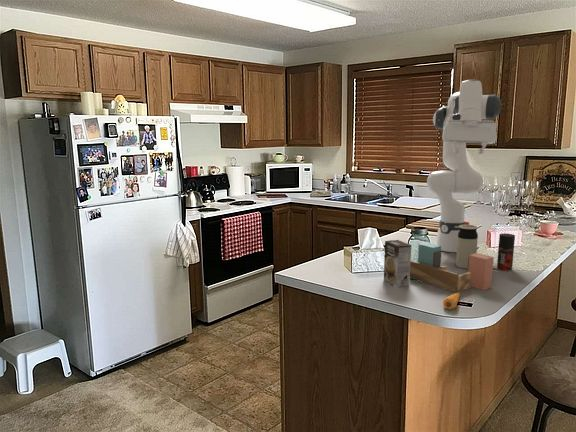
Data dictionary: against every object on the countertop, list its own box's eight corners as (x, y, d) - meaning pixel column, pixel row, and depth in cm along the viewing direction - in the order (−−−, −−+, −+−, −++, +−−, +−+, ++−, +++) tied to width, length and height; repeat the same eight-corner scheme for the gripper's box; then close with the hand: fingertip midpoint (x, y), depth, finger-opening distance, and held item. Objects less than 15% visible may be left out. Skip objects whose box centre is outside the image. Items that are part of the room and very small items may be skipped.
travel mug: (473, 270, 199) (476, 229, 195) (454, 267, 202) (457, 227, 199) (476, 265, 205) (479, 225, 202) (457, 263, 209) (460, 223, 206)
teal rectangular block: (425, 270, 192) (426, 242, 190) (440, 275, 186) (442, 246, 184) (417, 272, 189) (418, 244, 187) (432, 277, 183) (434, 248, 181)
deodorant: (496, 270, 199) (499, 235, 196) (497, 266, 204) (499, 232, 201) (511, 271, 196) (515, 237, 193) (512, 268, 201) (515, 234, 199)
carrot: (451, 313, 156) (458, 302, 154) (439, 306, 157) (445, 295, 156) (463, 300, 173) (468, 290, 171) (451, 293, 175) (457, 283, 173)
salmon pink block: (473, 282, 184) (475, 252, 182) (491, 287, 178) (493, 256, 176) (465, 284, 181) (467, 254, 179) (483, 290, 175) (486, 259, 173)
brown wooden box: (422, 273, 195) (423, 257, 194) (469, 287, 178) (471, 270, 176) (408, 277, 190) (409, 260, 189) (455, 292, 172) (456, 274, 171)
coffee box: (382, 279, 187) (384, 240, 184) (396, 277, 190) (397, 239, 187) (396, 286, 179) (397, 246, 176) (410, 284, 181) (411, 244, 178)
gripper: (494, 122, 188) (493, 156, 186) (441, 120, 190) (440, 154, 189) (499, 117, 181) (498, 152, 180) (445, 115, 184) (444, 150, 182)
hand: (468, 153), depth 184 cm, fingers open, 8 cm apart
